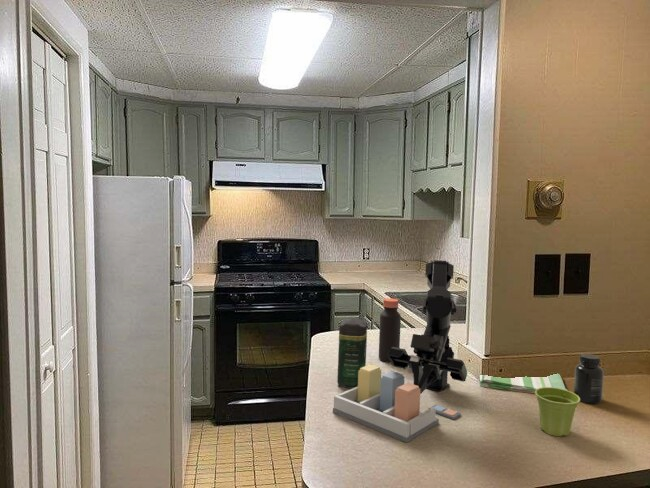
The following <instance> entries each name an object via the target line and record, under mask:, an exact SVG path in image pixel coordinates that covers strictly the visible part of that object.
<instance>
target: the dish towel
mask: <svg viewBox="0 0 650 488" xmlns="http://www.w3.org/2000/svg"><path fill="white" fill-rule="evenodd" d="M480 387H481V388H482V387H483V388H490V389H499V390H507V391H514V392H520V393H521V392H522V393H530V394H535V391H536V389H538V388H543V387H552V388H559V389H564V390H567V391H569V390H568V389H567V388H566V387H565V384H564V381H563V378H562V376H561V375H560V373H557V374H553V375H550V376H547V377H527V376H525V377H515V378H501V377H493V376H488V375H480V374H479V388H480Z"/></svg>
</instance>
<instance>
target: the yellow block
mask: <svg viewBox="0 0 650 488" xmlns="http://www.w3.org/2000/svg"><path fill="white" fill-rule="evenodd" d="M381 378H382V368H381V367H380V366H377V365H374V364H372V363H371V364H368V365H366V366H365V367H362V368H360V370H359V371H358V402H362V401H364V400H366V399H368V398H371V397H373V396H375V395H377V394H379V393H380V387H381Z"/></svg>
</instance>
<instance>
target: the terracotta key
mask: <svg viewBox="0 0 650 488" xmlns="http://www.w3.org/2000/svg"><path fill="white" fill-rule="evenodd" d="M420 405H421V394H420V388H419V386H417V385H414V383H410V382H407V383H404V385H402V386H400V387H397V390H395V415H394V417H395V418H398V419H401V420H403V421H406V422H408V421H409V420H411V419H413V418H415V417H417V416H418V415H419V412H420V410H421V409H420Z"/></svg>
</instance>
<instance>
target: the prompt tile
mask: <svg viewBox="0 0 650 488" xmlns="http://www.w3.org/2000/svg"><path fill="white" fill-rule="evenodd" d="M431 408H436V413H435V415H439V416H443V417H445V418H447V419H451V420H456V419H457V418H460V417H461V415H462V412H459V411H456V410H453V409H451V408H447V407H444V406H441V405H438V404H434V405H432V406H431V407H429V408H428V410H429V409H431Z"/></svg>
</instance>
